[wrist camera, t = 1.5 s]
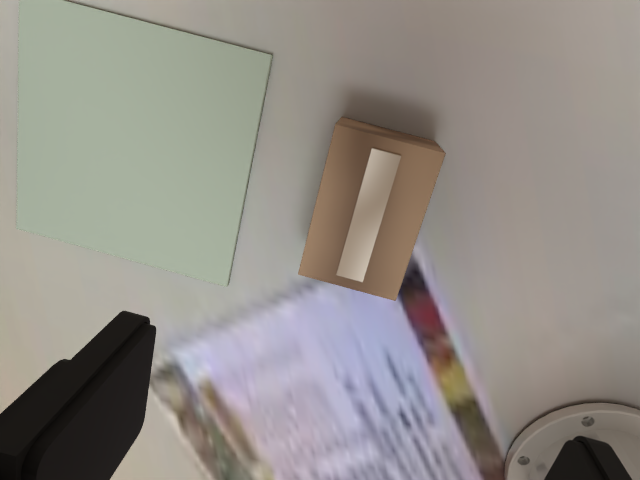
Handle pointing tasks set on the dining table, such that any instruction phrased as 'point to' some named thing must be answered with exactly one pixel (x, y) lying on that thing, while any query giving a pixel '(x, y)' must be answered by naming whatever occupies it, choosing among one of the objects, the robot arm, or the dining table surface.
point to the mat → (135, 137)
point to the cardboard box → (370, 207)
